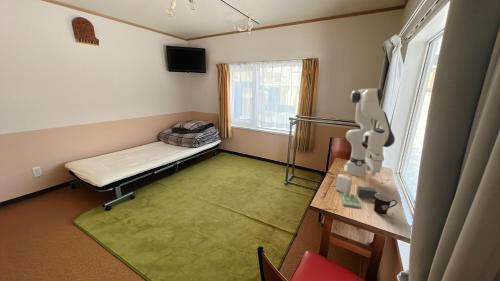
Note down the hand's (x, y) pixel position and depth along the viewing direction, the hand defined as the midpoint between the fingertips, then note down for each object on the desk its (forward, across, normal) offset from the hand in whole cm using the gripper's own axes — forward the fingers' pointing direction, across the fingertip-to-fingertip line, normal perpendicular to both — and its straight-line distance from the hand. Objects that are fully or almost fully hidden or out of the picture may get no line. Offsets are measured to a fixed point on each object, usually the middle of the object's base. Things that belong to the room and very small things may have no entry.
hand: (370, 173), depth 131 cm
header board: (+18, +9, -12) cm, 23 cm away
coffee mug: (+18, +17, +5) cm, 25 cm away
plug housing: (+18, 0, 0) cm, 18 cm away
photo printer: (+18, -3, -14) cm, 23 cm away
